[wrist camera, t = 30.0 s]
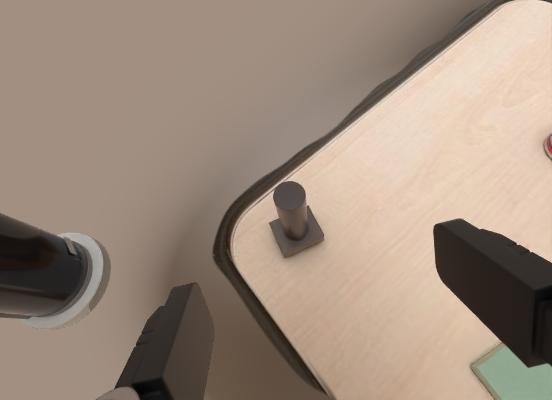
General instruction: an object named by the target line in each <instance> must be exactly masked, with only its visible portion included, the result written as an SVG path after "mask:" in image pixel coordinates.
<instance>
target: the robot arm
mask: <svg viewBox="0 0 552 400" xmlns="http://www.w3.org/2000/svg"><path fill="white" fill-rule="evenodd" d="M433 234H434V249H435V263H436V269H437V272H438V274H439V277H440V278H441V280H442V282H443V283H444V284H445V285H446V286H447V287H448V288H449V289H450V290H451V291H452V292H453V293H454V294H455V295H456V296H457V297H458V298H459V299H460V300H461V301H462V302H463V303H464V304H465V305H466V306H467V307H468V308H469V309H470V310H471V311H472V312H473V313H474V314H475V315H476V316H477V317H478V318H479V319H480V320H481V321H482V322H483V323H484V324H485V325H486V326H487V327H488V328H489V329H490V330H491V331H492V332H493V333H494V334H495V335H496V336H497V337H498V338H499V339H500V340H501V341H502V342H503V343H504V344H505V345H506V346H507V347H508V348H509V349H510V350H511V351H512V352H513V353H514V354H515V355H516V356H517V357H518V358H519V359H520V360H521V361H522V362H523V363H524V364H525V365H526V366H527V367H528V368H531V367H535V366H539V365H543V364H549V365H550V366H551V367H552V263H551V262H549V261H547V260H546V259H544V258H542V257H540V256H538V255H537V254H535V253H533V252H531V253H530V251H529V250H528V249H526V248H524V247H523V246H521V245H517V244H516V242H514V241H512V240H510V239H509V238H507V237H505V236H503V235H502V234H498V233H495V232H491V231H488V230H485V229H478V228H476V227H475V226H473V225H471V224H470V223H468V222H466V221H465V220H463V219H460V218H459V219H455V220H450V221H446V222H442V223H438V224H436V225H435V226H434V229H433ZM63 237H64V236H63ZM92 271H93V263H92V258H91V255H90V253H89V251H88V250H87V249H86V248H85V247H84V246H83V245H81V244H79V243H77V242H74V241H71V240H70V239H69V238H67V237H64V238H62V237H59V236H57V235H54V234H52V233H49V232H47V231H44V230H42V229H39V228H37V227H34V226H32V225H29V224H27V223H24V222H22V221H19V220H16V219H14V218H11V217H9V216H6V215H4V214H1V213H0V317H1V318H18V319H29V318H31V317H33V316H34V317H52V316H56V315H59V314H61V313H63V312H65V311H66V310H68V309H69V308H71V307H72V306H73V305H74V304H75V303H76V302H77V301H78V300H79V299H80V298H81V297H82V295H83V294H84V292H85V291H86V289H87V287H88V285H89V283H90V280H91V276H92ZM213 342H214V325H213V320H212V317H211V315H210V312H209V310H208V307H207V305H206V302H205V299H204V297H203V294H202V292H201V289H200V287H199V285H198V284H197V283H196V282H195V283H190V284H186V285H182V286H179V287H174V288H173V289H172V290H171V292H170V295H169V297H168V300H167V302H166V304H165V306H161V307H159V308H158V309H157V310H156V311H155V312H154V313H153V315H152V316H151V317H150V318H149V319H148V320H147V322H146V324H145V327H144V329H143V331H142V335H140V337H139V339H138V341H137V343H136V347H134V349H133V351H132V353H131V355H130V357H129V359H128V361H127V364H126V366H125V368H124V370H123V372H122V374H121V376H120V378H119V380H118V382H117V384H116V386H115V388H114V390H111V391H109V392H107V393H105V394H104V395H102V396H101V397H99V398H98V399H96V400H203V398H204V393H205V387H206V381H207V375H208V370H209V365H210V359H211V353H212V347H213Z"/></svg>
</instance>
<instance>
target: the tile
mask: <svg viewBox="0 0 552 400" xmlns="http://www.w3.org/2000/svg"><path fill="white" fill-rule="evenodd" d="M470 367H471V369H472V370H473V371H474V373H475V374H476V375H477V376H478V378H479V379H480V380H481V382H482V383H483V384H484V386H485V387H486V388H487V389H488V391H489V392H490V393H491V395H492V396H493V397H494V398H495V400H552V367H551V366H550V365H549V364H543V365H539V366H535V367H531V368H528V367H527V366H526V365H525V364H524V363H523V362H522V361H521V360H520V359H519V358H518V357H517V356H516V355H515V354H514V353H513V352H512V351H511V350H510V349H509V348H508V347H507V346H506V345H505V344H504V343H501V344H500V345H499V346H497V347H496V348H494V349H493V350H492V351H490V352H489V353H488V354H486V355H485V356H483V357H482V358H481V359H479V360H478V361H476V362H475V363H474V364H472V365H471V366H470Z"/></svg>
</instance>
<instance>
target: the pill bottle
mask: <svg viewBox="0 0 552 400" xmlns="http://www.w3.org/2000/svg"><path fill="white" fill-rule="evenodd" d="M544 146H545V150H546V152H547V154H548V155H549V157H550V158H551V159H552V134H550V135H549V136H548V137H547V139H546V141H545V145H544Z"/></svg>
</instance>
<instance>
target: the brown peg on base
mask: <svg viewBox="0 0 552 400" xmlns="http://www.w3.org/2000/svg"><path fill="white" fill-rule="evenodd" d="M273 199H274V203H275V206H276V209H277V212H278V215H279V219H277V220H274V221H272V222H270V223H269V224H270V227H271V229H272V231H273V233H274V236H275V238H276V240H277V242H278V244H279V247H280V249H281V251H282V253H283V256H284V258H286V257H288V256H290V255H292V254H294V253H297V252H299V251H301V250H303V249H305V248H308V247H310V246H312V245H314V244H316V243H319V242H321V241H323V240H324V234H323V232H322V230H321V228H320V226H319V225H318V223H317V221H316V219H315V217H314V215H313V213H312V211H311V209H310V208H309V206H306V194H305V190H304V188H303V187H302V186H301V185H300V184H298V183H296V182H293V181H288V182H284V183H282V184H280V185H279V186H278V187H277V188H276V189H275V191H274V194H273Z"/></svg>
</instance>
